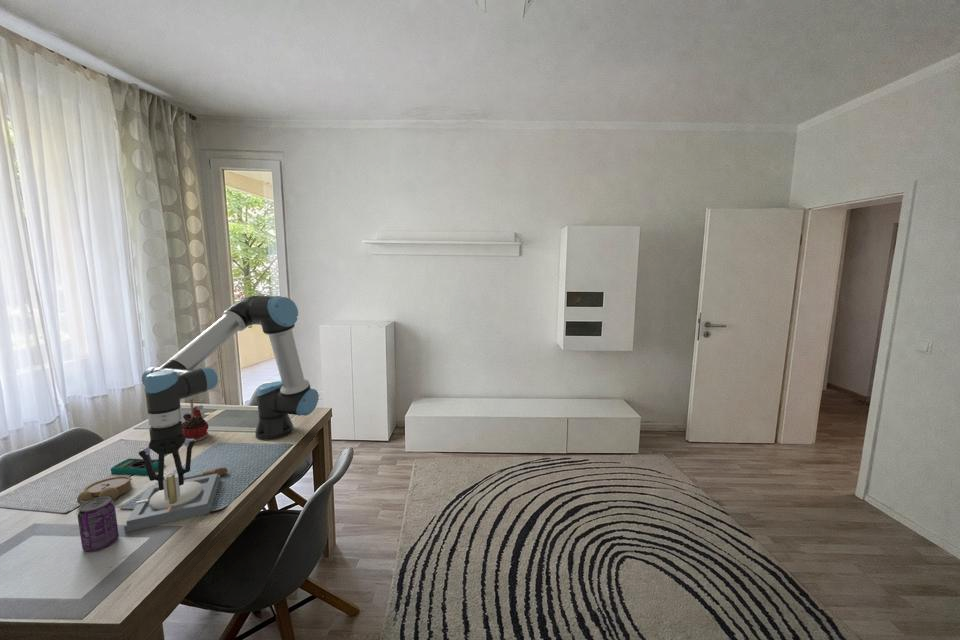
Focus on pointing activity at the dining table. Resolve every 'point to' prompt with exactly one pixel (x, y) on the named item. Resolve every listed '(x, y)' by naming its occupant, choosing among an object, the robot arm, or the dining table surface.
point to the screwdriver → (210, 473)
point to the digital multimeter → (133, 467)
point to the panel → (151, 517)
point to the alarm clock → (105, 489)
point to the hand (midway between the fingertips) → (172, 496)
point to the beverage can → (97, 523)
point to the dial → (175, 494)
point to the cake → (195, 424)
